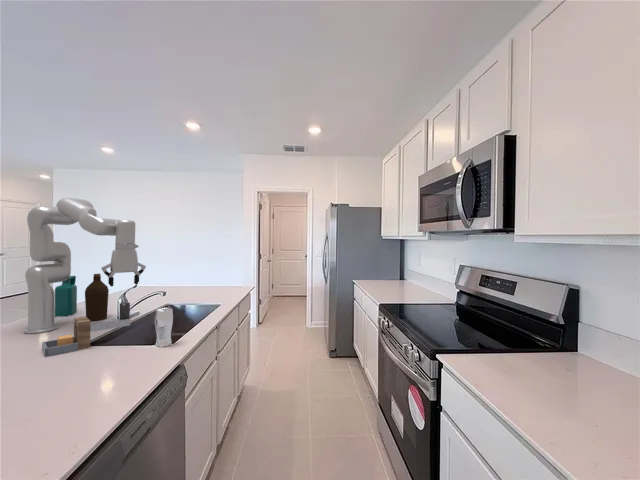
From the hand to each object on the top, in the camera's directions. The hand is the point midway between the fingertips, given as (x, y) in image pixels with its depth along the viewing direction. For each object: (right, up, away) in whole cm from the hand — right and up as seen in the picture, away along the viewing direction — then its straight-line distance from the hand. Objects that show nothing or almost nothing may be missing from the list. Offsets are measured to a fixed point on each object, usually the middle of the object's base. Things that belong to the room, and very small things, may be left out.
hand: (124, 285), depth 140 cm
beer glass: (+22, -24, -9) cm, 34 cm away
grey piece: (-5, -18, -5) cm, 20 cm away
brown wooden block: (-10, -24, -11) cm, 28 cm away
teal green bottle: (-58, -23, +39) cm, 74 cm away
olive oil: (-34, -23, +29) cm, 51 cm away
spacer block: (-13, -21, -14) cm, 28 cm away
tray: (-15, -24, -16) cm, 33 cm away
